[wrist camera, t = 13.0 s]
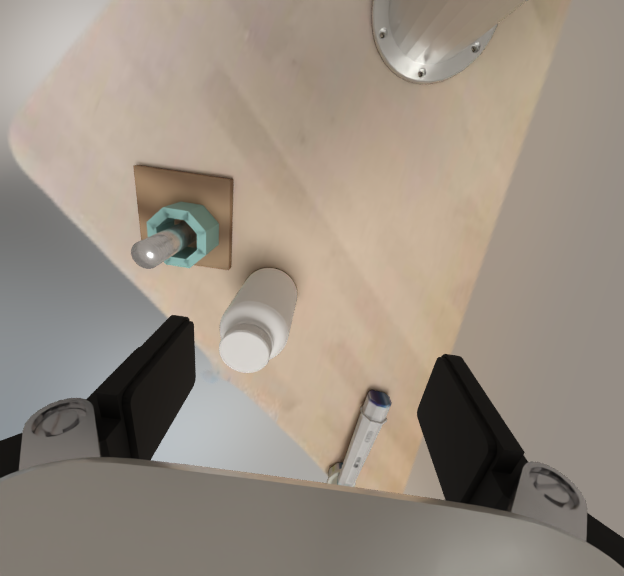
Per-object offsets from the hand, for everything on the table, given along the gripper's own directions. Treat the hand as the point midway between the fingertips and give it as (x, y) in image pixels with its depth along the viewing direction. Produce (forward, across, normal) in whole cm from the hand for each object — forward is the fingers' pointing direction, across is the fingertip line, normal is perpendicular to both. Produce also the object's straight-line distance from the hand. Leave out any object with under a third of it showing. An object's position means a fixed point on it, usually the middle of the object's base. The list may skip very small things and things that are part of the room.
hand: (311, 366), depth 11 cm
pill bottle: (+31, +6, +12) cm, 33 cm away
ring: (+29, +17, +4) cm, 34 cm away
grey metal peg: (+29, +17, +4) cm, 34 cm away
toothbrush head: (+31, -12, +40) cm, 52 cm away
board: (+30, +18, +3) cm, 35 cm away
